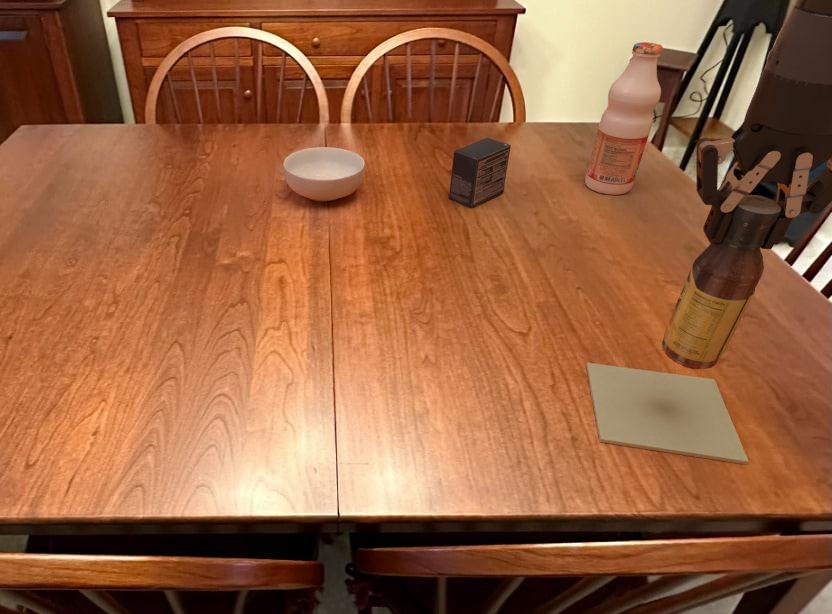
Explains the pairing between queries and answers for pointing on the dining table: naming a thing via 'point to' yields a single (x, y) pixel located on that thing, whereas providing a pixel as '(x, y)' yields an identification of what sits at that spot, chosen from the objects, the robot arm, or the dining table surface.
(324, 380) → the dining table surface
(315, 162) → the cereal bowl
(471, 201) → the small box
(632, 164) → the fruit juice
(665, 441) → the mat
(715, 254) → the sauce bottle
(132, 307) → the dining table surface
